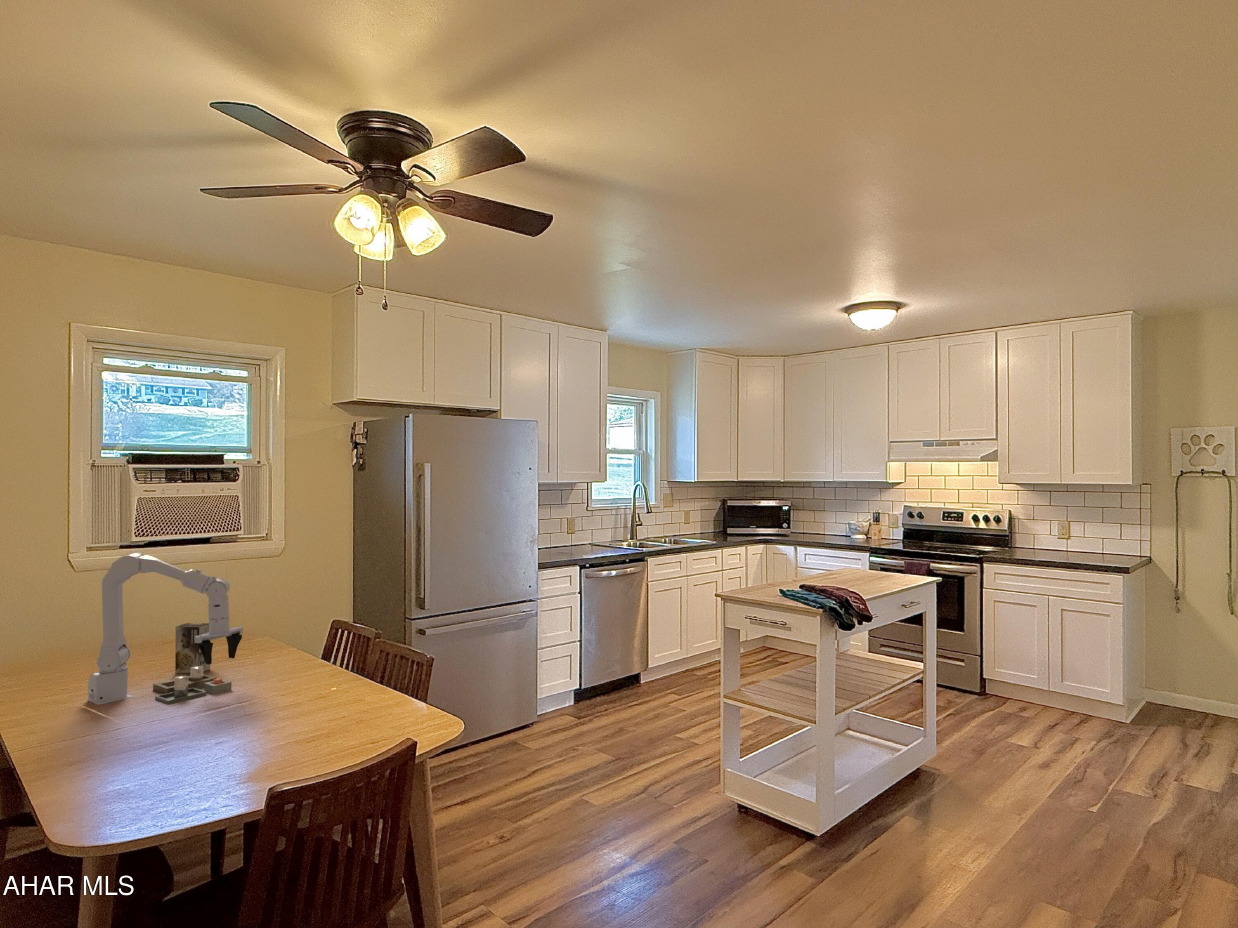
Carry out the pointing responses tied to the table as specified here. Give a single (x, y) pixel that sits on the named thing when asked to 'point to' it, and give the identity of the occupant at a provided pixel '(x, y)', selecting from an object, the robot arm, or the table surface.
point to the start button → (217, 681)
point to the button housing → (217, 687)
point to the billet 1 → (180, 686)
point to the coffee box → (189, 647)
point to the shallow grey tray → (169, 697)
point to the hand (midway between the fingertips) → (220, 660)
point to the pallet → (169, 685)
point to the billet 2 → (196, 673)
